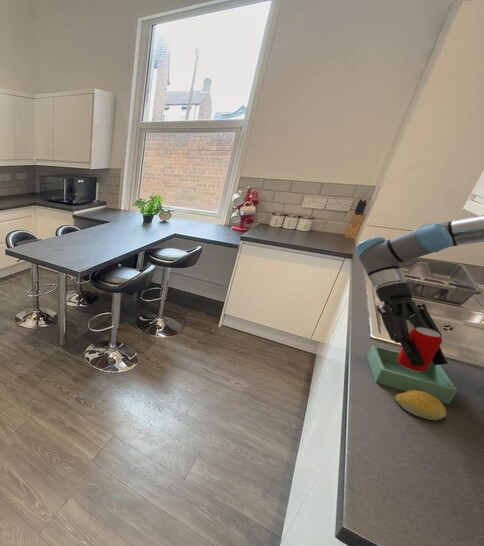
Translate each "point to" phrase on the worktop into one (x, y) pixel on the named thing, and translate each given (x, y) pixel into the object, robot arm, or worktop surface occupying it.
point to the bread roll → (421, 404)
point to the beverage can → (421, 348)
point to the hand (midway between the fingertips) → (430, 364)
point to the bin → (409, 375)
